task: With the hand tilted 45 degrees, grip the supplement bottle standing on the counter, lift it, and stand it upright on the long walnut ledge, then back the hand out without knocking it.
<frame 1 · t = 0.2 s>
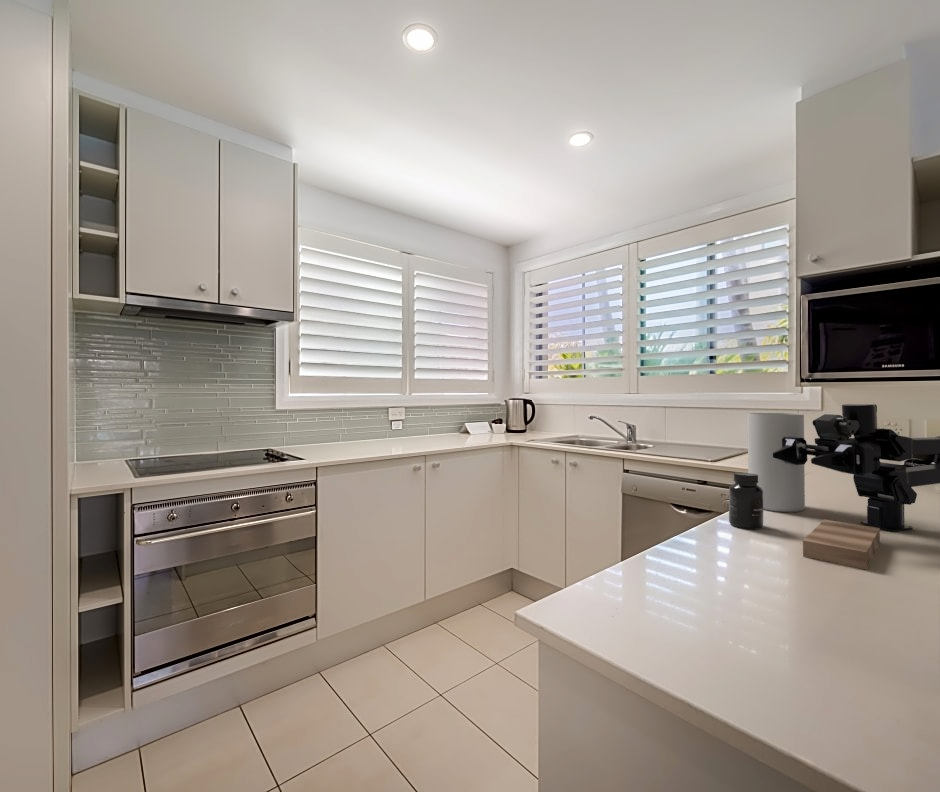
hand: (791, 458, 97), 17 cm above the counter, tool horizontal, fingers open, 9 cm apart
supplement bottle: (746, 526, 105), on the counter
cylinder vase: (775, 507, 122), on the counter
walnut ledge: (843, 549, 88), on the counter
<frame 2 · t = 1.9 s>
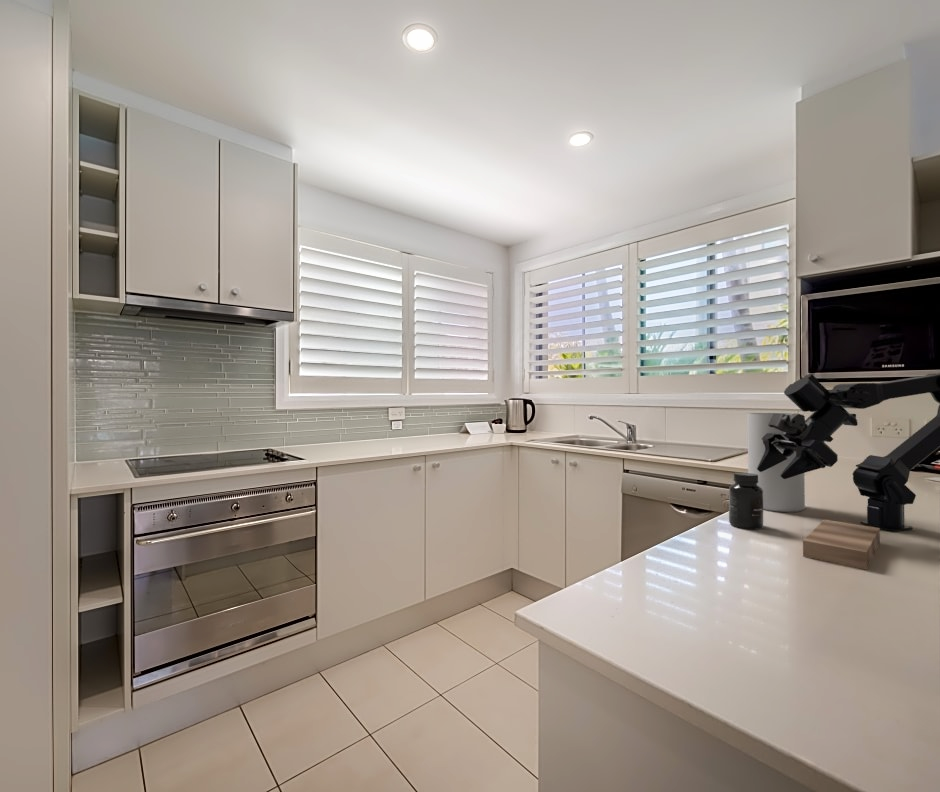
hand: (769, 473, 104), 12 cm above the counter, tool tilted 45°, fingers open, 9 cm apart
nothing on the counter moved.
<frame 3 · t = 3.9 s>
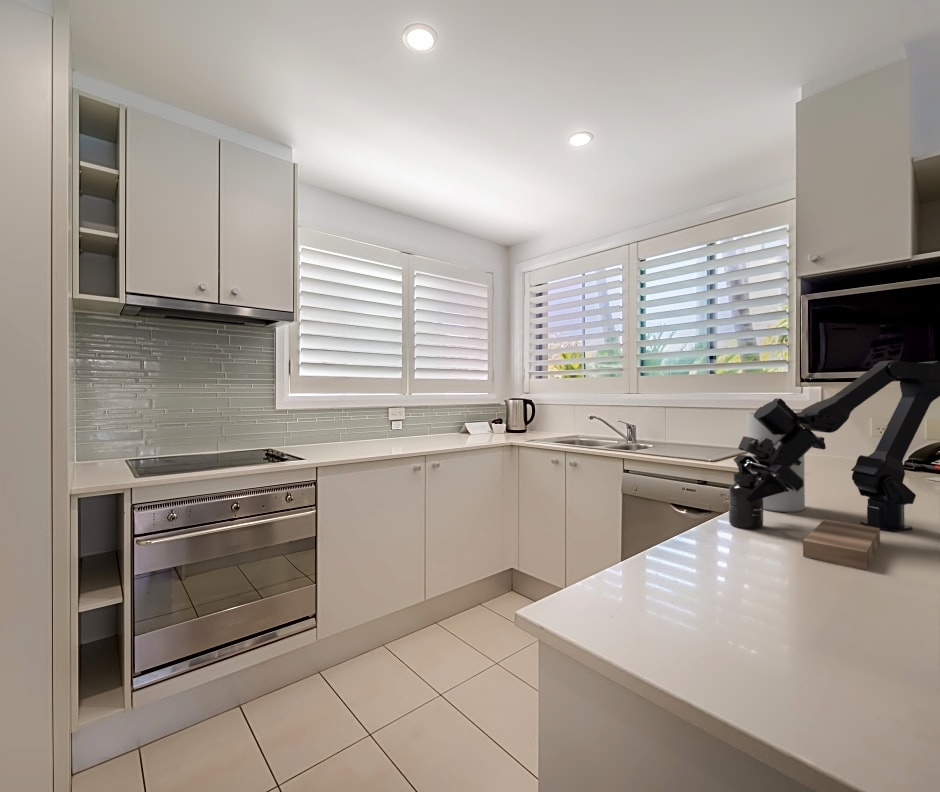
hand: (739, 497, 105), 7 cm above the counter, tool tilted 45°, fingers closed on supplement bottle, 7 cm apart
supplement bottle: (746, 526, 105), on the counter, touching gripper
everything else where it was.
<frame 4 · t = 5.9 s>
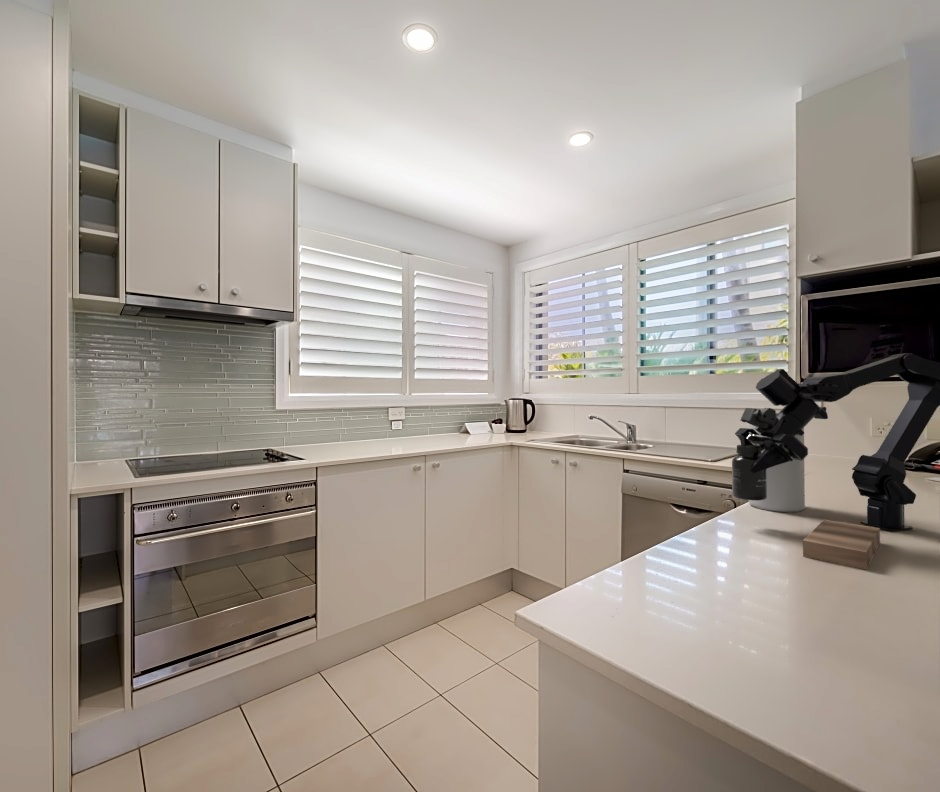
hand: (742, 468, 104), 13 cm above the counter, tool tilted 45°, fingers closed on supplement bottle, 7 cm apart
supplement bottle: (749, 498, 104), point 6 cm above the counter, touching gripper
everything else where it was.
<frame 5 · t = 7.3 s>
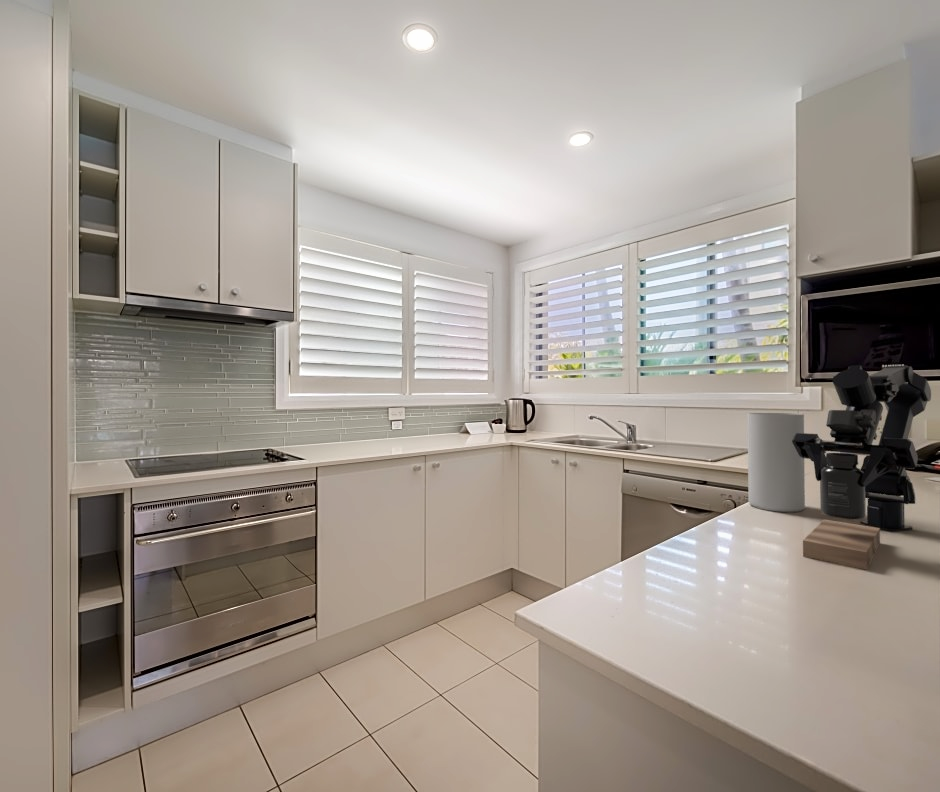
hand: (839, 482, 88), 13 cm above the counter, tool tilted 45°, fingers closed on supplement bottle, 7 cm apart
supplement bottle: (842, 516, 88), point 6 cm above the counter, touching gripper
everything else where it was.
when the fingers open (11 cm above the counter, at t = 8.3 s): supplement bottle drops 1 cm, resting on walnut ledge.
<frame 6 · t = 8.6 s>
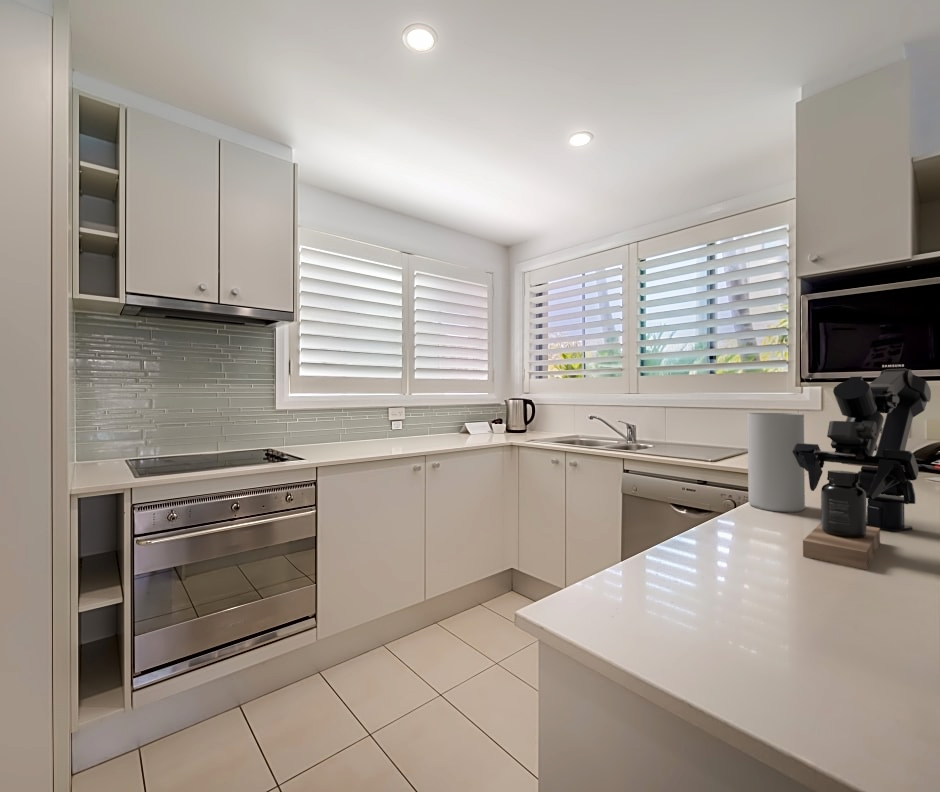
hand: (839, 493, 88), 11 cm above the counter, tool tilted 45°, fingers open, 9 cm apart
supplement bottle: (843, 534, 88), point 3 cm above the counter, touching walnut ledge
everything else where it was.
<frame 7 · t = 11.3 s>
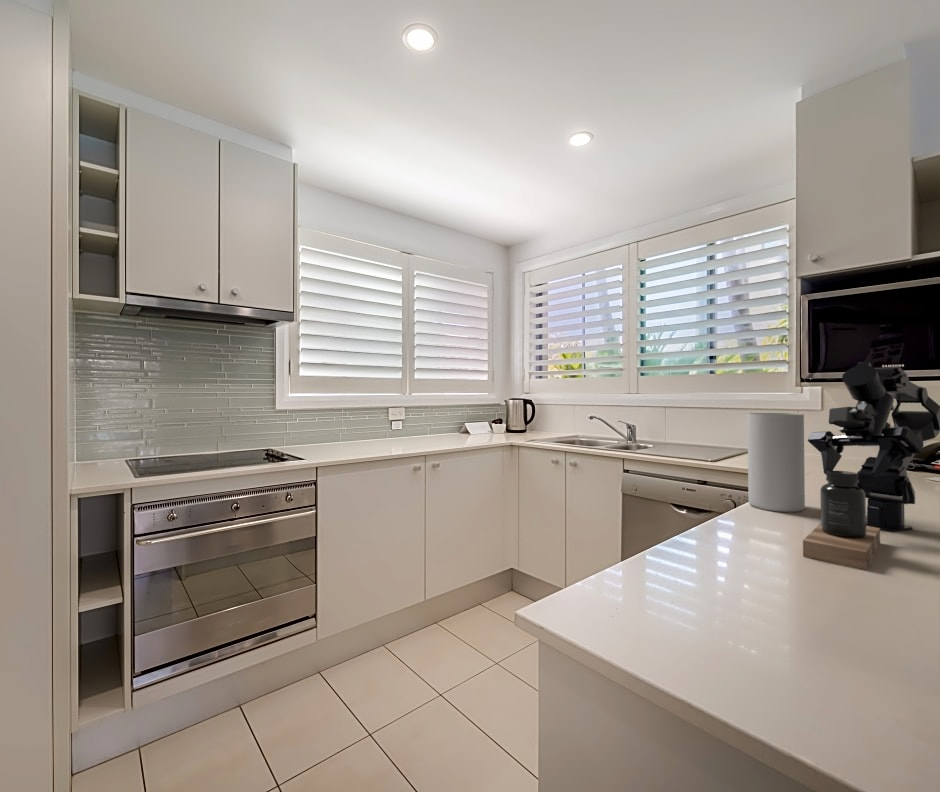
hand: (849, 474, 94), 13 cm above the counter, tool tilted 40°, fingers open, 9 cm apart
nothing on the counter moved.
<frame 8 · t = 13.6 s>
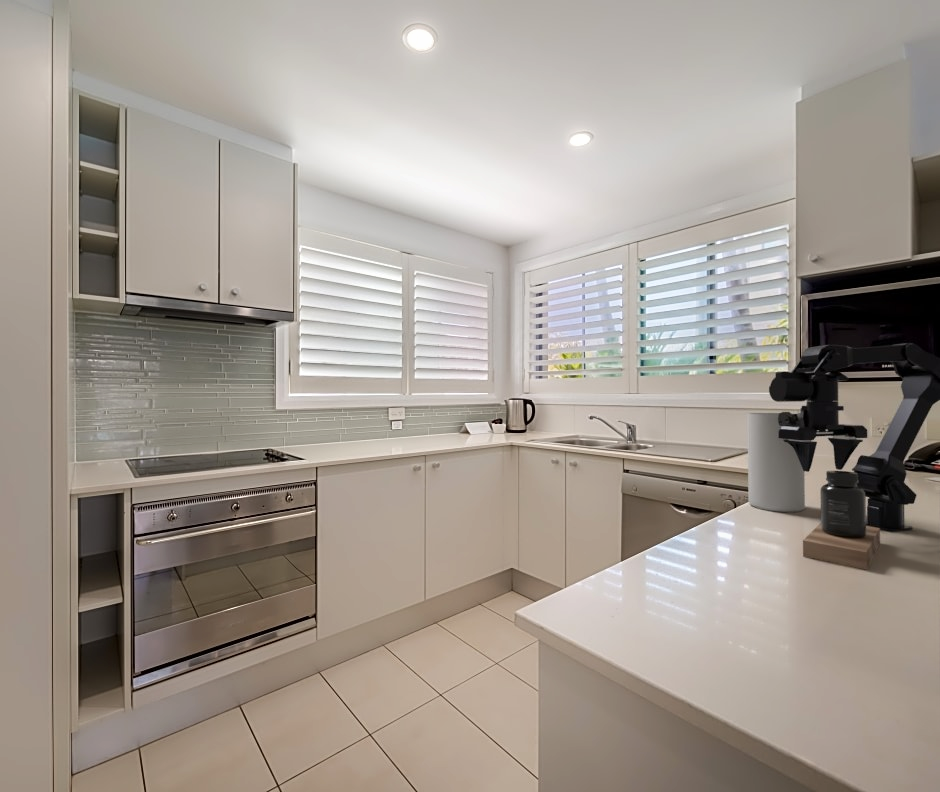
hand: (822, 470, 102), 13 cm above the counter, tool pointing down, fingers open, 9 cm apart
nothing on the counter moved.
at the end: supplement bottle 0.2 cm off-centre on the walnut ledge, point 2.8 cm above the walnut ledge's base; supplement bottle tilted 0°; the gripper is holding nothing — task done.
